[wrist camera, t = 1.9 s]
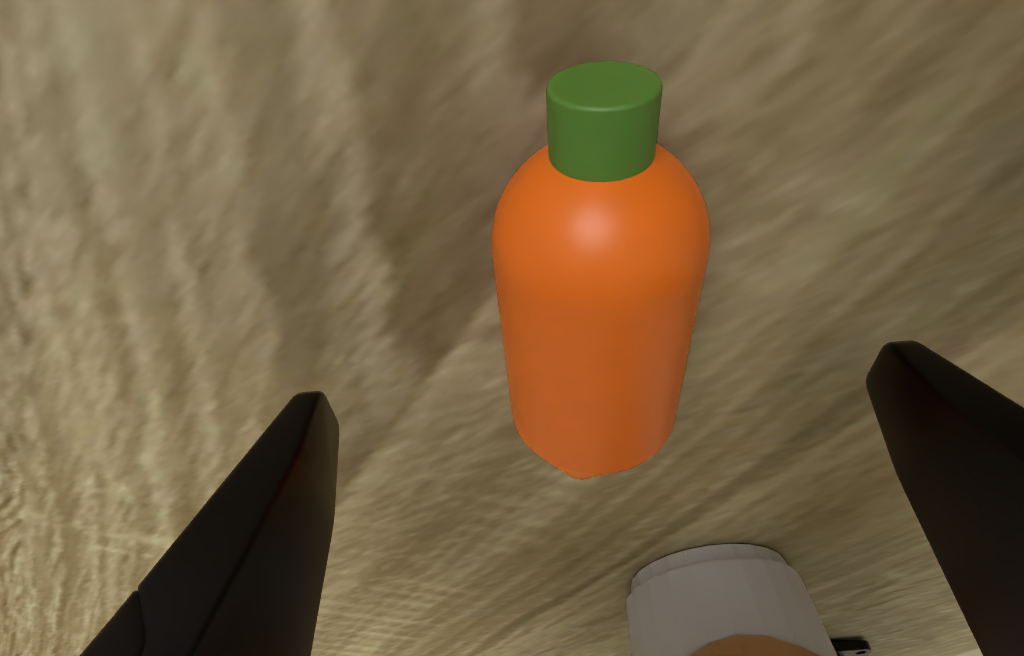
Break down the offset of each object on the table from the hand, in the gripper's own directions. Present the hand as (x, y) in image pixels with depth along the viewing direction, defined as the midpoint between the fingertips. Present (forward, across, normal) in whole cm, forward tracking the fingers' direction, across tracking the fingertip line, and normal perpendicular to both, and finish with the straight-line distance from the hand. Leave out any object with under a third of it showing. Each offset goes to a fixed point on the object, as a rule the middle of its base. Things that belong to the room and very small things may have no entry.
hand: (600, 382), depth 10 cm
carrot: (+3, 0, +1) cm, 3 cm away
